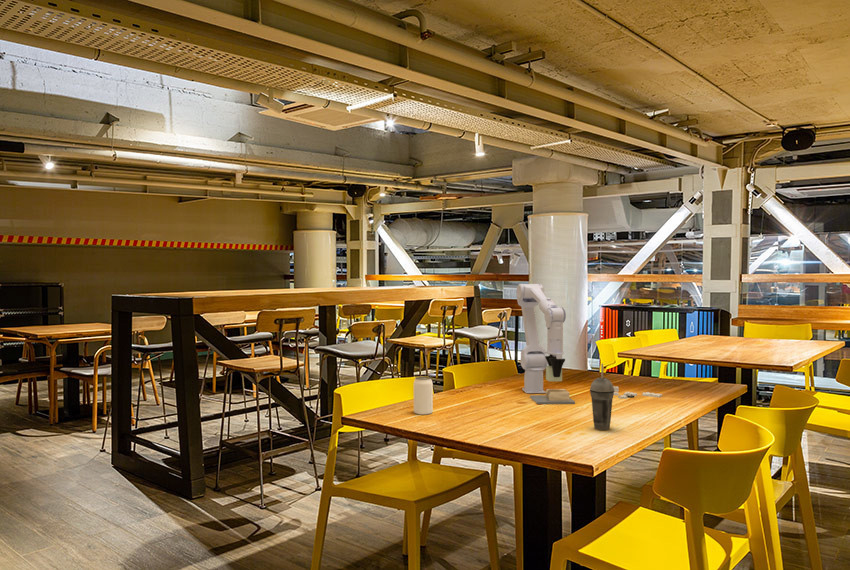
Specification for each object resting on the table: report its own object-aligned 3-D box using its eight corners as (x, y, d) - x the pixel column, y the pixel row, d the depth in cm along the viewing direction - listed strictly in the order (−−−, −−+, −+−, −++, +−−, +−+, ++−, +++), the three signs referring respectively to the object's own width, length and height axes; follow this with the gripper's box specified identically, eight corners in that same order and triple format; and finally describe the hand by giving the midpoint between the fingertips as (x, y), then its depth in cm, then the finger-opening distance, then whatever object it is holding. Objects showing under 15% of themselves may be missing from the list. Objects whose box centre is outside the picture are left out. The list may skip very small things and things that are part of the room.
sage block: (545, 379, 238) (545, 366, 238) (559, 379, 238) (558, 365, 238) (548, 381, 233) (548, 367, 233) (562, 381, 233) (562, 367, 233)
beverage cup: (613, 426, 195) (613, 361, 194) (615, 432, 187) (615, 365, 187) (589, 425, 196) (589, 361, 196) (589, 430, 189) (590, 364, 189)
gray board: (530, 397, 242) (530, 395, 242) (566, 397, 243) (566, 395, 243) (537, 404, 229) (537, 401, 229) (575, 403, 230) (575, 401, 230)
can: (415, 415, 211) (415, 379, 210) (412, 411, 217) (412, 376, 217) (434, 414, 212) (434, 379, 211) (430, 410, 218) (430, 376, 218)
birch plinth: (546, 397, 239) (546, 389, 239) (564, 396, 239) (564, 389, 239) (550, 400, 232) (550, 392, 232) (569, 400, 232) (569, 392, 232)
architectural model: (645, 405, 230) (645, 399, 230) (584, 397, 244) (584, 392, 244) (662, 396, 246) (662, 391, 246) (604, 390, 260) (604, 385, 260)
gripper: (540, 337, 243) (540, 373, 243) (548, 341, 228) (548, 378, 228) (558, 337, 243) (558, 373, 243) (567, 341, 228) (567, 378, 228)
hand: (554, 375), depth 236 cm, fingers closed on sage block, 5 cm apart
